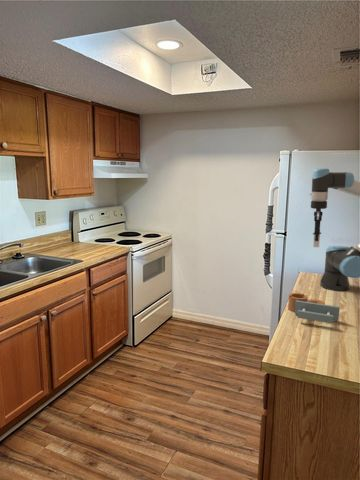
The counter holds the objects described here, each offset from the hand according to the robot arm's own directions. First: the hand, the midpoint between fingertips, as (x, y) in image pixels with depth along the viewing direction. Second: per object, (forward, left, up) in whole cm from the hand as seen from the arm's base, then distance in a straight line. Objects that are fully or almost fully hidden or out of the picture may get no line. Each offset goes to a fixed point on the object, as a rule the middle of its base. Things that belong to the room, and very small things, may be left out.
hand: (316, 246), depth 183 cm
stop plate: (+29, +18, -25) cm, 43 cm away
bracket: (+19, +8, -26) cm, 34 cm away
